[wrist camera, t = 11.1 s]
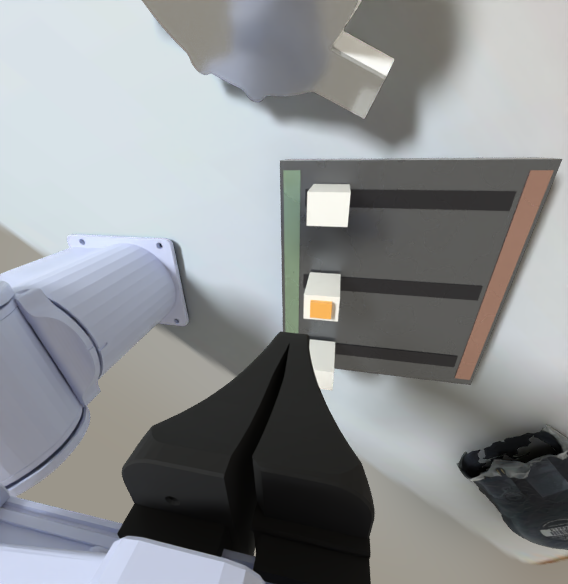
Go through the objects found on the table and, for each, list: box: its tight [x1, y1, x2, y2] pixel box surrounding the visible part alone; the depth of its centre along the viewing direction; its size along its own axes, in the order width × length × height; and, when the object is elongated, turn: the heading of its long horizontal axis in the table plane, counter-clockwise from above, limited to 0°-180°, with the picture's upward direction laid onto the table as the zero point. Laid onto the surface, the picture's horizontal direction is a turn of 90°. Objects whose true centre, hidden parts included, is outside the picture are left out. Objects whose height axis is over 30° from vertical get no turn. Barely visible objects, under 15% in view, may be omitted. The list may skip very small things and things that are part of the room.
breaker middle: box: [303, 272, 341, 322], centre depth 17 cm, size 2×2×4 cm
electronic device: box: [457, 425, 568, 550], centre depth 25 cm, size 9×6×15 cm
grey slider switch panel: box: [280, 158, 562, 385], centre depth 19 cm, size 14×15×2 cm
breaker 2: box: [309, 339, 335, 390], centre depth 20 cm, size 2×2×3 cm
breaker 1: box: [307, 184, 351, 227], centre depth 15 cm, size 2×2×3 cm
